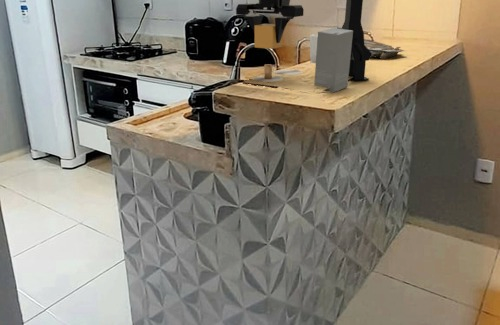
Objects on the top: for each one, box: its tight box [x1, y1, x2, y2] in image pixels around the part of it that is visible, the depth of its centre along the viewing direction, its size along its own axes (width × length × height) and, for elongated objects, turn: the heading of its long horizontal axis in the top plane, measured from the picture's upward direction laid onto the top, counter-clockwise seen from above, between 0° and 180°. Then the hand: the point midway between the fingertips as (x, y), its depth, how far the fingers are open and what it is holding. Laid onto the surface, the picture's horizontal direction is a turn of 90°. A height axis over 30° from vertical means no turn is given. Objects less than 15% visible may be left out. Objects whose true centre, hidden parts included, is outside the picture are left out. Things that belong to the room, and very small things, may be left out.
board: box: [242, 69, 304, 89], centre depth 147 cm, size 11×22×1 cm, turn 147°
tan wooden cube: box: [254, 23, 284, 50], centre depth 137 cm, size 6×6×6 cm
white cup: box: [309, 33, 318, 64], centre depth 171 cm, size 8×8×10 cm
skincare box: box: [313, 27, 353, 93], centre depth 132 cm, size 8×7×16 cm
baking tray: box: [364, 38, 405, 60], centre depth 193 cm, size 30×22×5 cm
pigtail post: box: [263, 63, 273, 79], centre depth 141 cm, size 2×2×4 cm
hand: (268, 42), depth 138 cm, fingers closed on tan wooden cube, 6 cm apart
